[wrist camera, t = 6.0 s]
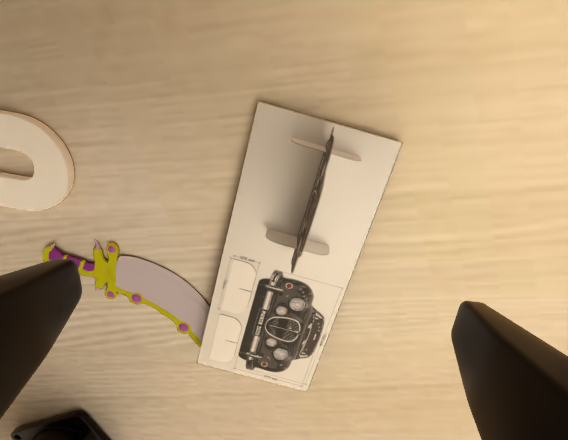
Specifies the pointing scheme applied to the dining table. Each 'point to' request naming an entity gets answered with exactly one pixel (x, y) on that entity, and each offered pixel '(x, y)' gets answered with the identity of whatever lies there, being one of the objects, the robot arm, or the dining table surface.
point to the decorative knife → (144, 286)
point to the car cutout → (292, 243)
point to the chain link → (46, 159)
